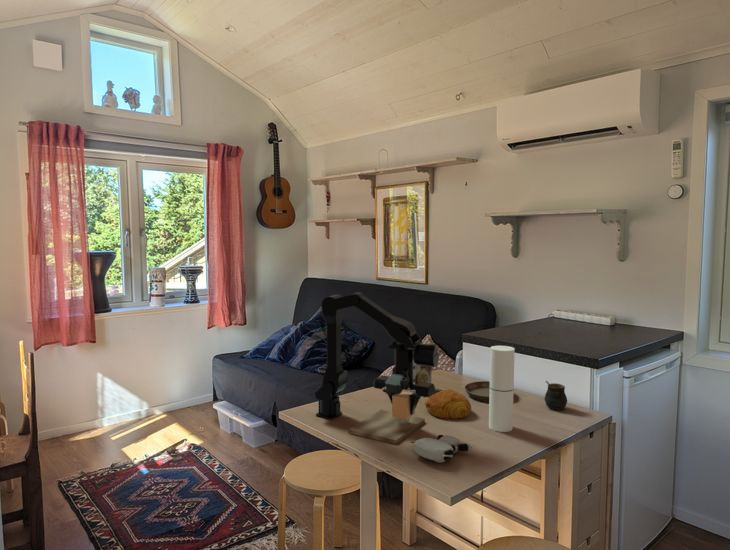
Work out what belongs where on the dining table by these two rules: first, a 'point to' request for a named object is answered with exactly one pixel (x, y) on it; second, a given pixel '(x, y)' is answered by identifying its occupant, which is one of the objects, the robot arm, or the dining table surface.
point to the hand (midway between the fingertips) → (403, 412)
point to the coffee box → (421, 374)
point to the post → (403, 421)
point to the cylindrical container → (501, 388)
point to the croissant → (448, 405)
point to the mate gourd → (556, 396)
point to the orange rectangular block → (401, 405)
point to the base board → (385, 427)
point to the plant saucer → (479, 390)
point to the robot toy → (439, 447)
